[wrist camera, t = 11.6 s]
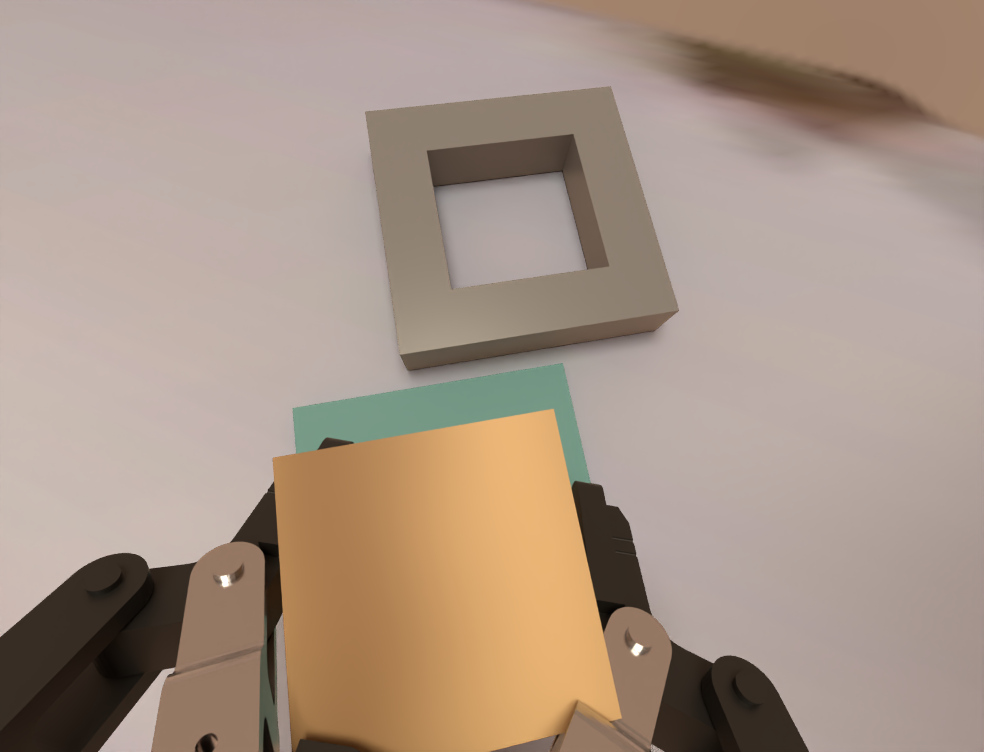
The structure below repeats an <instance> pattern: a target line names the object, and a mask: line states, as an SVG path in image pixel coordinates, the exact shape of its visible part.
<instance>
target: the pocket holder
mask: <svg viewBox="0 0 984 752" xmlns="http://www.w3.org/2000/svg"><path fill="white" fill-rule="evenodd" d="M365 114H366V121H367V128H368V135H369V142H370V149H371V156H372V163H373V170H374V177H375V184H376V191H377V198H378V205H379V212H380V219H381V226H382V233H383V240H384V247H385V254H386V261H387V268H388V275H389V282H390V289H391V296H392V303H393V310H394V317H395V324H396V331H397V338H398V345H399V352H400V356H401V358H402V360H403V362H404V364H405V366H406V368H407V370H408V371H409V370H415V369H421V368H427V367H433V366H439V365H446V364H452V363H458V362H464V361H470V360H476V359H482V358H489V357H495V356H501V355H507V354H513V353H519V352H525V351H532V350H538V349H544V348H550V347H556V346H562V345H568V344H575V343H581V342H587V341H593V340H599V339H605V338H612V337H618V336H624V335H630V334H636V333H642V332H648V331H655V330H656V329H657V328H659V327H660V326H661V325H662V324H663V323H665V322H666V321H667V320H668V319H669V318H671V317H672V316H673V315H674V314H675V313H677V312H678V311H679V309H678V305H677V302H676V299H675V295H674V292H673V289H672V286H671V282H670V279H669V276H668V272H667V269H666V266H665V263H664V259H663V256H662V253H661V250H660V246H659V243H658V240H657V236H656V233H655V230H654V227H653V223H652V220H651V217H650V213H649V210H648V207H647V204H646V200H645V197H644V194H643V190H642V187H641V184H640V181H639V177H638V174H637V171H636V168H635V164H634V161H633V158H632V154H631V151H630V148H629V145H628V141H627V138H626V135H625V131H624V128H623V125H622V122H621V118H620V115H619V112H618V109H617V105H616V102H615V99H614V95H613V92H612V89H611V86H610V87H601V88H591V89H581V90H572V91H562V92H552V93H542V94H533V95H523V96H513V97H504V98H494V99H484V100H474V101H465V102H455V103H445V104H436V105H426V106H416V107H406V108H397V109H387V110H377V111H368V112H365ZM555 171H563V175H564V179H565V183H566V187H567V191H568V195H569V198H570V202H571V206H572V210H573V214H574V218H575V222H576V225H577V229H578V233H579V237H580V241H581V245H582V249H583V252H584V256H585V260H586V264H587V268H588V270H581V271H574V272H567V273H561V274H554V275H547V276H540V277H533V278H526V279H519V280H513V281H506V282H499V283H492V284H485V285H478V286H471V287H465V288H458V289H451V285H450V279H449V274H448V268H447V263H446V257H445V251H444V246H443V240H442V234H441V229H440V223H439V218H438V212H437V206H436V201H435V195H434V189H433V186H440V185H448V184H456V183H464V182H473V181H481V180H489V179H497V178H505V177H514V176H522V175H530V174H538V173H547V172H555Z"/></svg>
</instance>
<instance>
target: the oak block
mask: <svg viewBox="0 0 984 752" xmlns="http://www.w3.org/2000/svg"><path fill="white" fill-rule="evenodd" d="M273 469H274V484H275V500H276V515H277V530H278V545H279V561H280V576H281V591H282V607H283V622H284V637H285V652H286V668H287V683H288V698H289V713H290V729H291V744H292V752H295V751H296V749H297V746H298V743H299V741H300V739H305V740H311V741H317V742H323V743H330V744H336V745H342V746H348V747H353V748H355V749H356V750H358V751H360V752H490V751H494V750H498V749H502V748H506V747H510V746H514V745H518V744H521V743H525V742H529V741H533V740H537V739H541V738H545V737H549V736H553V735H557V734H561V733H564V732H565V730H566V728H567V725H568V723H569V721H570V719H571V716H572V714H573V712H574V709H575V707H576V705H577V703H578V700H579V701H581V702H582V703H584V704H585V705H587V706H588V707H589V708H591V709H592V710H594V711H595V712H596V713H598V714H599V715H600V716H602V717H603V718H605V719H606V720H607V721H613V720H617V719H621V718H622V717H621V712H620V708H619V703H618V698H617V694H616V689H615V685H614V680H613V676H612V671H611V667H610V662H609V658H608V653H607V648H606V644H605V639H604V635H603V630H602V626H601V621H600V617H599V612H598V607H597V603H596V598H595V594H594V589H593V585H592V580H591V576H590V571H589V567H588V562H587V557H586V553H585V548H584V544H583V539H582V535H581V530H580V526H579V521H578V517H577V512H576V507H575V503H574V498H573V494H572V489H571V485H570V480H569V476H568V471H567V467H566V462H565V457H564V453H563V448H562V444H561V439H560V435H559V430H558V426H557V421H556V417H555V412H554V409H549V410H543V411H538V412H532V413H526V414H520V415H515V416H509V417H503V418H498V419H492V420H486V421H480V422H475V423H469V424H463V425H458V426H452V427H446V428H440V429H435V430H429V431H423V432H418V433H412V434H406V435H400V436H395V437H389V438H383V439H377V440H372V441H366V442H360V443H355V444H349V445H343V446H337V447H332V448H326V449H320V450H315V451H309V452H303V453H297V454H292V455H286V456H280V457H275V458H273Z"/></svg>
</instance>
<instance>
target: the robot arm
mask: <svg viewBox="0 0 984 752" xmlns="http://www.w3.org/2000/svg"><path fill="white" fill-rule="evenodd" d="M349 444H354V442H352V441H346V440H340V439H334V438H329V437H327V438H325V439H324V440H323V442H322V443H321V445H320V446H319V448H318V449H317V450H320V449H326V448H332V447H337V446H343V445H349ZM571 489H572V494H573V498H574V503H575V507H576V512H577V517H578V521H579V526H580V530H581V535H582V539H583V544H584V548H585V553H586V557H587V562H588V567H589V571H590V576H591V580H592V585H593V589H594V594H595V598H596V603H597V607H598V612H599V617H600V621H601V626H602V630H603V635H604V639H605V644H606V648H607V653H608V658H609V662H610V667H611V671H612V676H613V680H614V685H615V689H616V694H617V698H618V703H619V708H620V712H621V717H622V718H621V719H617V720H613V721H607V720H606V719H605V718H603V717H602V716H600V715H599V714H598V713H596V712H595V711H594V710H592V709H591V708H589V707H588V706H587V705H585V704H584V703H582V702H581V701H579V700H578V703H577V705H576V707H575V709H574V712H573V714H572V716H571V719H570V721H569V723H568V725H567V728H566V730H565V732H564V733H561V734H557V735H555V738H554V740H553V743H552V745H551V748H550V750H549V752H651V744H652V745H654V746H656V747H658V748H659V749H661V750H663V751H665V752H809V751H808V749H807V747H806V745H805V743H804V741H803V739H802V737H801V736H800V734H799V732H798V730H797V728H796V726H795V724H794V722H793V720H792V718H791V716H790V715H789V713H788V711H787V709H786V707H785V705H784V703H783V701H782V699H781V697H780V695H779V694H778V692H777V690H776V688H775V687H774V685H773V684H772V683H771V681H770V680H769V679H768V678H767V677H766V675H765V674H764V673H763V672H762V671H760V670H759V669H758V668H757V667H756V666H754V665H753V664H751V663H750V662H748V661H746V660H744V659H742V658H739V657H736V656H723V657H720V658H719V659H717V660H716V661H715V662H714V664H713V663H711V662H709V661H707V660H705V659H703V658H701V657H699V656H697V655H695V654H693V653H691V652H689V651H687V650H685V649H683V648H681V647H680V646H678V645H677V644H675V643H674V642H672V641H671V640H670V639H669V637H668V635H667V633H666V631H665V629H664V628H663V627H662V625H661V624H660V623H659V622H658V621H657V620H656V619H655V618H654V617H653V616H652V614H651V611H650V608H649V604H648V600H647V595H646V591H645V587H644V583H643V579H642V575H641V571H640V567H639V563H638V559H637V557H636V550H635V546H634V543H633V538H632V534H631V530H630V526H629V522H628V521H627V520H626V518H625V517H624V515H623V514H622V512H621V511H620V509H619V508H618V507H615V506H609V505H606V501H605V496H604V491H603V488H602V486H601V485H598V484H592V483H586V482H580V481H574V483H573V485H572V488H571ZM282 613H283V607H282V591H281V576H280V561H279V545H278V530H277V515H276V500H275V484H274V482H273V484H272V485H271V486H270V488H269V489H268V492H267V493H265V495H264V496H263V498H262V499H261V500H260V502H259V503H258V505H257V506H256V508H255V509H254V510H253V512H252V513H251V515H250V516H249V517H248V519H247V520H246V522H245V523H244V524H243V526H242V527H241V529H240V530H239V532H238V533H237V534H236V536H235V537H234V538H233V540H232V541H231V542H230V543H227V544H224V545H221V546H218V547H216V548H214V549H213V550H211V551H209V552H208V553H206V554H205V555H204V556H203V557H202V558H201V559H200V560H199V561H198V562H195V563H191V564H185V565H176V566H168V567H160V568H152V569H149V568H148V565H147V562H146V561H145V560H144V559H143V558H142V557H140V556H138V555H136V554H131V553H119V554H113V555H109V556H105V557H102V558H100V559H97V560H95V561H93V562H91V563H89V564H87V565H86V566H84V567H82V568H81V569H79V570H78V571H77V572H76V573H74V574H73V575H72V576H71V577H70V578H69V579H67V580H66V581H65V582H64V583H63V584H62V585H60V586H59V587H58V588H57V589H56V590H55V591H53V592H52V593H51V594H50V595H49V596H48V597H46V598H45V599H44V600H43V601H42V602H41V603H40V604H38V605H37V606H36V607H35V608H34V609H33V610H31V611H30V612H29V613H28V614H27V615H26V616H24V617H23V618H22V619H21V620H20V621H19V622H17V623H16V624H15V625H14V626H13V627H12V628H10V629H9V630H8V631H7V632H6V633H5V634H4V635H2V636H1V637H0V752H98V751H99V750H100V748H101V747H102V746H103V745H104V743H105V742H106V741H107V740H108V738H109V737H110V736H111V735H112V733H113V732H114V731H115V729H116V728H117V727H118V726H119V724H120V723H121V722H122V721H123V719H124V718H125V717H126V716H127V714H128V713H129V712H130V710H131V709H132V708H133V707H134V705H135V704H136V703H137V702H138V700H139V699H140V698H141V697H142V695H143V694H144V693H145V691H146V690H147V689H148V688H149V686H150V685H151V684H152V683H153V681H154V680H155V679H156V678H157V676H158V675H159V674H160V672H161V671H162V670H163V669H169V668H174V667H175V670H174V672H173V674H169V675H168V676H167V678H166V680H165V682H164V685H163V689H162V693H161V698H160V704H159V709H158V715H157V721H156V727H155V733H154V738H153V744H152V750H151V752H280V744H279V729H278V717H277V661H276V625H277V623H278V621H279V619H280V617H281V615H282ZM295 752H360V751H358V750H356V749H355V748H353V747H348V746H342V745H336V744H330V743H323V742H317V741H311V740H305V739H300V741H299V743H298V746H297V749H296V751H295Z"/></svg>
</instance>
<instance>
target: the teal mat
mask: <svg viewBox="0 0 984 752" xmlns="http://www.w3.org/2000/svg"><path fill="white" fill-rule="evenodd" d="M549 409H554V412H555V417H556V421H557V426H558V430H559V435H560V439H561V444H562V448H563V453H564V457H565V462H566V467H567V471H568V476H569V480H570V485H571V488H572V485H573V483H574V481H580V482H586V483H590V478H589V474H588V470H587V465H586V461H585V457H584V452H583V448H582V444H581V440H580V435H579V431H578V427H577V422H576V418H575V414H574V409H573V405H572V401H571V396H570V392H569V388H568V384H567V379H566V375H565V371H564V366H563V363H561V364H555V365H549V366H543V367H537V368H531V369H525V370H519V371H513V372H507V373H501V374H495V375H489V376H483V377H477V378H471V379H465V380H459V381H453V382H447V383H441V384H435V385H429V386H423V387H417V388H411V389H405V390H399V391H393V392H387V393H381V394H375V395H369V396H363V397H357V398H351V399H345V400H339V401H333V402H327V403H321V404H315V405H309V406H303V407H297V408H293V419H294V431H295V444H296V454H297V453H303V452H309V451H315V450H317V449H318V448H319V446H320V445H321V443H322V442H323V440H324V439H325V438H327V437H329V438H334V439H340V440H346V441H352V442H354V444H355V443H360V442H366V441H372V440H377V439H383V438H389V437H395V436H400V435H406V434H412V433H418V432H423V431H429V430H435V429H440V428H446V427H452V426H458V425H463V424H469V423H475V422H480V421H486V420H492V419H498V418H503V417H509V416H515V415H520V414H526V413H532V412H538V411H543V410H549Z"/></svg>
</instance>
